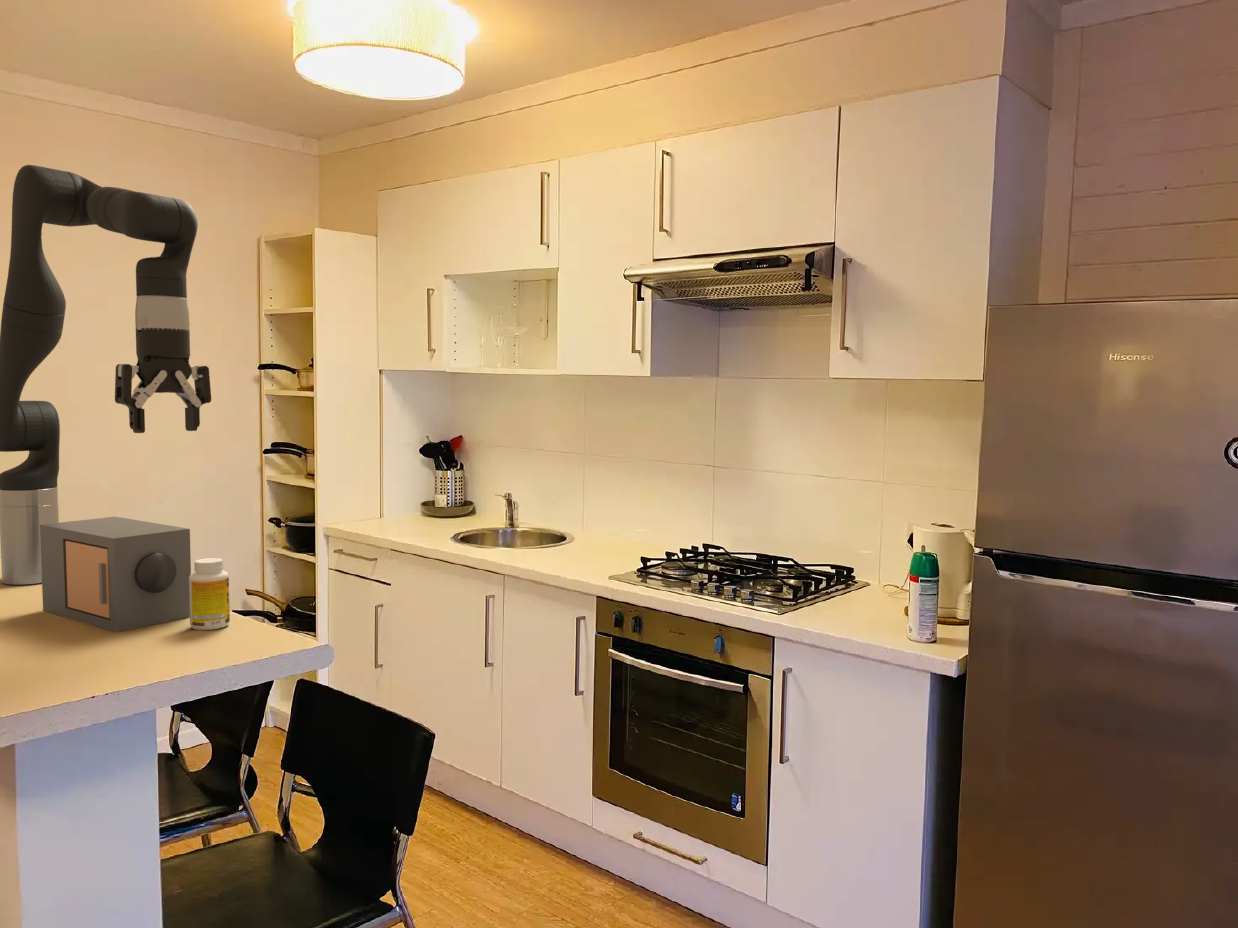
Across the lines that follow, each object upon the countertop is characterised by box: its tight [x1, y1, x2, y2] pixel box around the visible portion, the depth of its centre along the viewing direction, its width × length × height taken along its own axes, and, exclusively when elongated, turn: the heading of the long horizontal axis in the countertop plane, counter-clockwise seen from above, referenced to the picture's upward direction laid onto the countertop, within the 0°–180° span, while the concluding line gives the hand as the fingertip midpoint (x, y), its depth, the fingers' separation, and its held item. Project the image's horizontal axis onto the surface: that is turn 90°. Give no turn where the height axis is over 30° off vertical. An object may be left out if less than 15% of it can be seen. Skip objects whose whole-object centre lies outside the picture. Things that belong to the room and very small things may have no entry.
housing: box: [40, 516, 192, 633], centre depth 147 cm, size 23×12×14 cm, turn 57°
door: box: [66, 540, 110, 618], centre depth 141 cm, size 12×2×10 cm, turn 57°
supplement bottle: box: [189, 557, 231, 631], centre depth 141 cm, size 6×6×10 cm
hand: (165, 431), depth 145 cm, fingers open, 8 cm apart
